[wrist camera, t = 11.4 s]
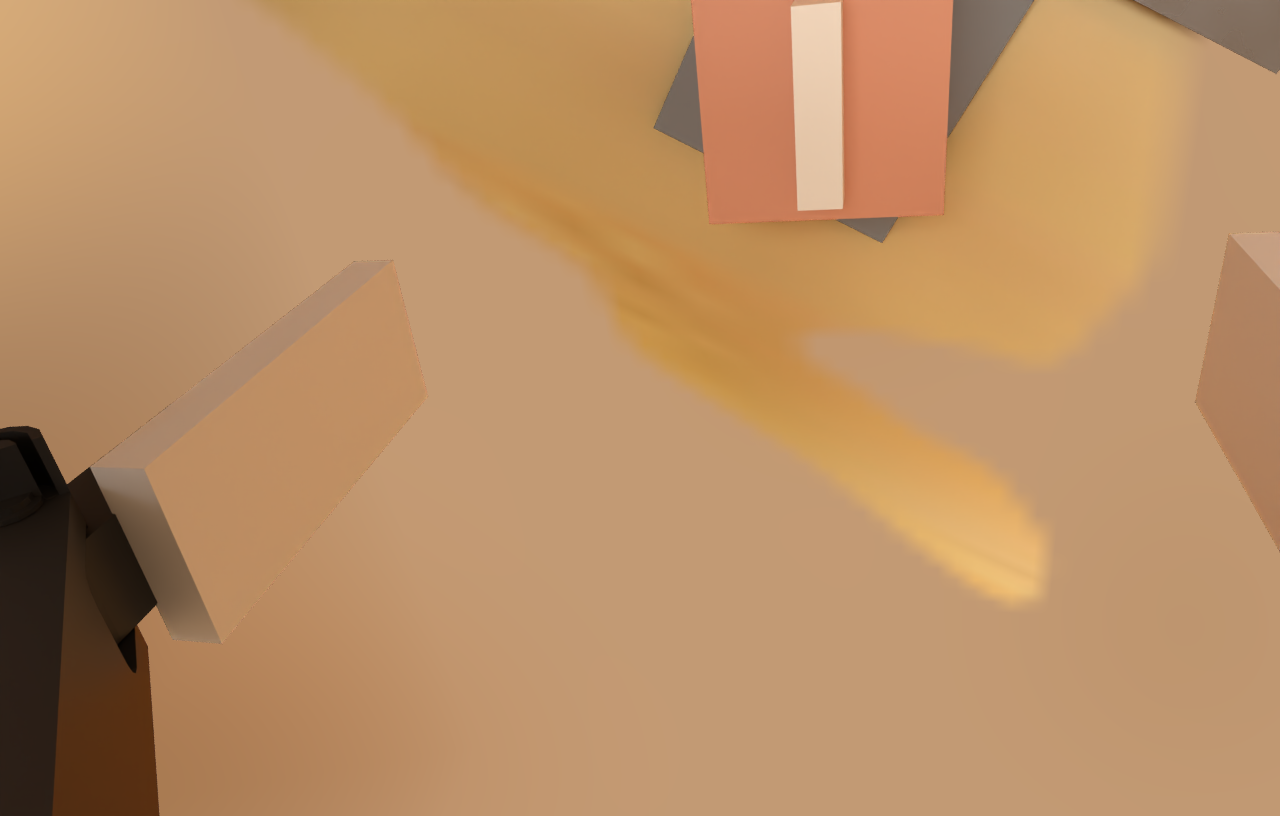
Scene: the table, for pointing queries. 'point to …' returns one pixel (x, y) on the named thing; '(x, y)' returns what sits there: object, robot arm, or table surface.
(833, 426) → the table surface
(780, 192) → the orange block
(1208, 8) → the grey peg stand
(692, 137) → the mat
